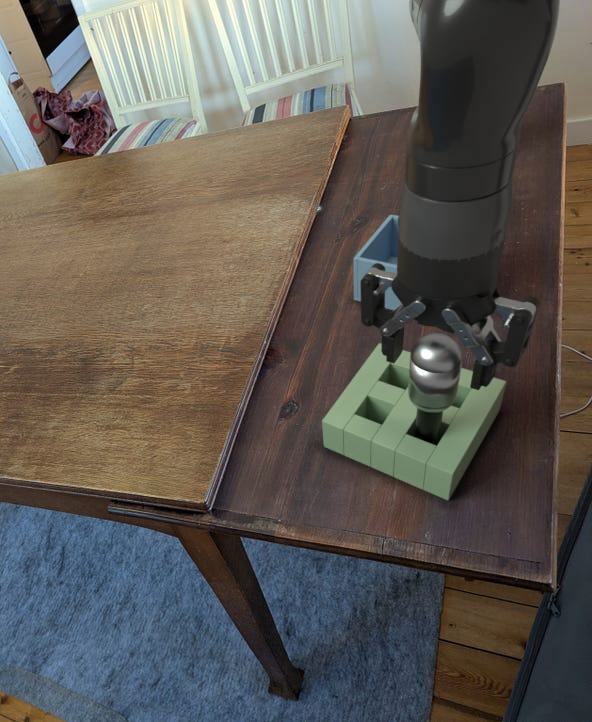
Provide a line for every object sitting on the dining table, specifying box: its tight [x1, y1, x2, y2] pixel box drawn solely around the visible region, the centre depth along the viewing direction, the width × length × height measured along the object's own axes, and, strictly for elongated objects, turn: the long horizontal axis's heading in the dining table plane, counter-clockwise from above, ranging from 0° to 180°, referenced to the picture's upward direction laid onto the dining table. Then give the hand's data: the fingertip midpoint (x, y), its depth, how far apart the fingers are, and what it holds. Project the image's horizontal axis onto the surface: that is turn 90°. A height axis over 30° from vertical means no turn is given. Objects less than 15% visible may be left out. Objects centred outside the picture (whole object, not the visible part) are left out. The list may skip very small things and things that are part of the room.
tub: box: [352, 214, 402, 311], centre depth 84 cm, size 14×11×8 cm
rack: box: [321, 342, 507, 501], centre depth 70 cm, size 14×14×5 cm
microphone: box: [408, 332, 464, 446], centre depth 62 cm, size 4×4×18 cm
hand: (434, 369), depth 59 cm, fingers open, 7 cm apart
